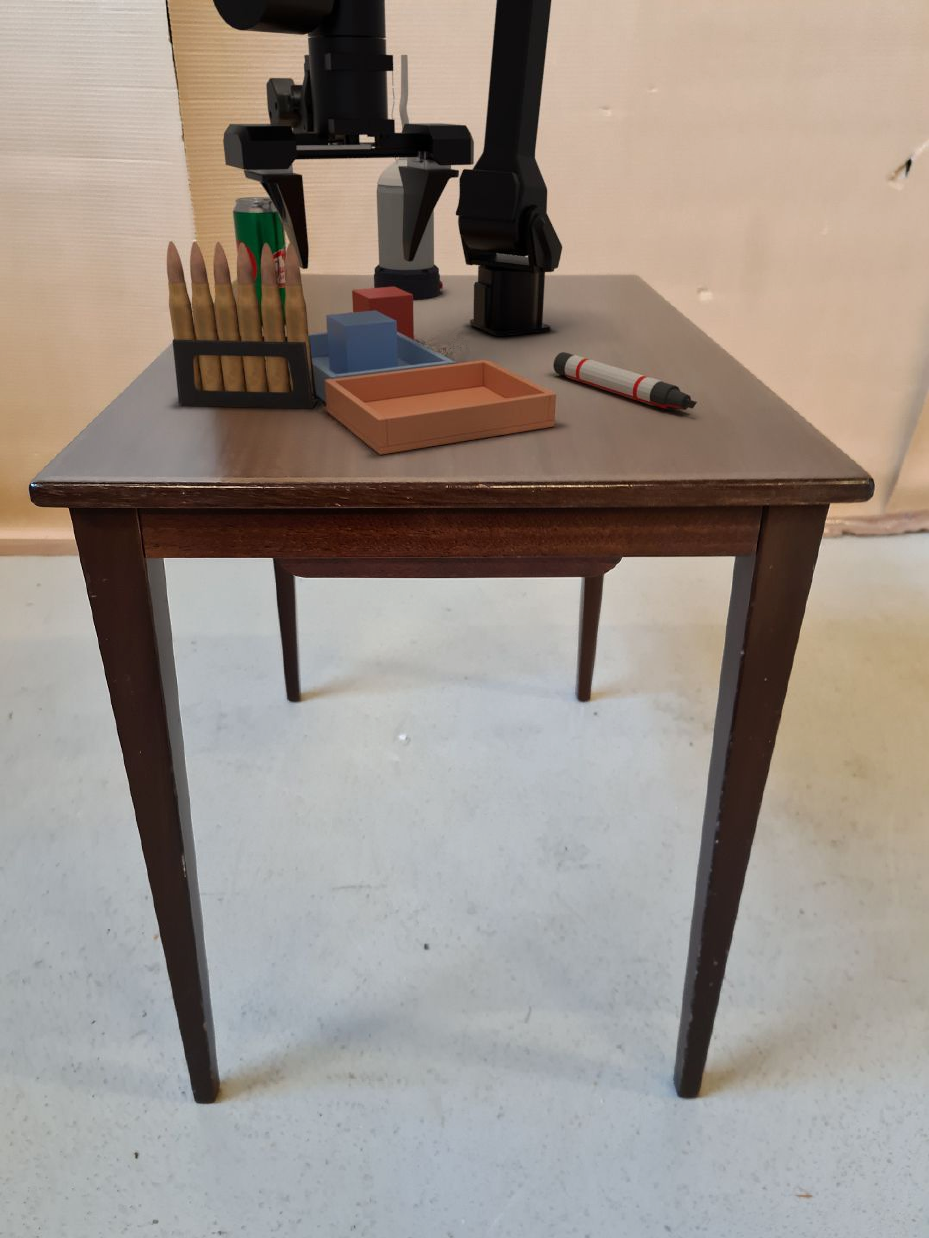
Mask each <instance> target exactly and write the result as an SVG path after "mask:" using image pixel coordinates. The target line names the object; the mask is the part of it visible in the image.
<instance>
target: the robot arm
mask: <svg viewBox="0 0 929 1238" xmlns="http://www.w3.org/2000/svg"><path fill="white" fill-rule="evenodd" d="M212 2H213V6H214V7H215V10H216V11H217V13H218V15H219V17H220V18H222V20H223V21H224V22H225V23H226V24H227V25H228V26H230V27H231V28H232V29H234V30H238V31H242V32H243V31H244V32H256V33H268V34H269V33H271V34H282V35H286V34H287V35H297V36H298V35H300V36H306V35H307V44H308V45H307V47H308V54H304V55H303V56H304V62H303V71H304V72H303V75H304V76H303V79H302V80H303V81H302V84H295V82H294V79H293V78H292V77H291V78H290V77H269V79H268V80H267V83H266V84H265V85H266V86H265V87H266V103H267V112H268V117H269V123H229V124H228V126H227V127H226V129H225V131H224V132H223V138H222V139H223V140H222V143H223V153H224V163H225V166H229V167H233V168H236V169H240V170H243V174H244V177H245V179H248V180H251V181H254V182H255V181H256V182H259V184H260V185H261V186H262V188H263V190H264V191H265V192H266V194H267V196H268V197H270V199H271V201H272V203H273V205H274V206H275V208H276V210H277V212H278V214H279V217H280V219H281V222H282V224H283V227H284V229H285V235H286V236H287V239H288V242H289V243H291V244H292V245H293V247H294V249H295V252H296V255H297V258H298V262H299V267H300V269H302V270H308V269H309V253H310V251H309V250H310V248H309V247H310V246H309V238H308V227H307V216H306V215H307V214H306V201H305V191H304V180H303V174H301V173H300V174H299V173H297V172H294V168H293V166H294V165H293V163H294V162H295V161H296V160H342V159H345V160H346V159H349V160H350V159H392V158H393V159H395V158H396V159H398V158H403V157H407V166H398V169H399V173H400V177H401V181H402V184H403V190H404V197H403V253H404V259H405V260H406V261H408V262H411V261H413V260H414V257H415V255H416V252H417V250H418V247H419V245H420V242H421V239H422V237H423V234H424V232H425V229H426V227H427V224H428V222H429V219H430V217H431V214H432V212H433V210H434V211H435V208H436V206H437V203H438V202H439V200H440V198H441V196H442V194H443V192H444V191H445V188H446V187H447V185H448V184H449V183H448V182H449V180H451V179H455V178H459V179H458V181H459V186H458V187H459V193H458V194H459V195H458V203H457V207H456V211H455V216H457V225H458V231H459V232H458V233H459V236H460V241H461V247H462V251H463V257H464V261H465V264H466V265H465V266H477V281H475V282H474V284H473V318H472V319H469V325H471V326H473V327H476V328H478V329H480V330H482V331H485V332H487V333H489V334H492V335H493V336H496V337H505V336H506V337H507V336H514V335H523V334H531V333H532V334H533V333H542V332H549V331H551V325H550V324H547V323H545V322H544V321H543V320H544V305H545V304H544V301H545V285H546V284H545V283H546V281H545V280H546V273H553V272H555V270H556V269H558V268H559V266H560V261H561V258H562V257H561V256H562V251H563V245H562V243H561V240H560V238H559V237H558V236H559V235H558V234H557V232H556V230H555V227H554V225H553V223H552V220H551V219H550V217H549V214H548V211H547V210H548V187H547V185H546V182H545V180H544V177H543V175H542V172H541V170H540V167H539V164H538V162H537V159H536V147H537V140H538V130H539V121H540V111H541V103H542V101H541V100H542V92H543V83H544V74H545V66H546V65H545V64H546V54H547V45H548V37H549V36H548V35H549V27H550V26H549V25H550V20H551V19H550V18H551V9H552V8H551V7H552V0H496V3H495V14H494V15H495V16H494V25H493V36H492V48H491V59H490V70H489V71H490V72H489V82H488V83H489V84H488V93H487V94H488V95H487V106H486V118H485V129H484V130H485V131H484V139H483V140H484V142H483V149H482V153H481V154H480V156H479V158H478V159H477V161H476V163H475V162H474V160H475V142H474V137H473V135H472V133H471V131H470V129H469V128H468V126H467V124H453V123H443V122H442V123H437V122H436V123H434V122H433V123H431V122H430V123H429V122H428V123H427V122H426V123H425V122H424V123H419V122H418V123H409V124H404V127H403V130H402V129H401V132H396V121H395V118H393V119H392V118H389V98H388V97H389V96H388V72H392V71H393V72H394V54H387V39H386V38H387V34H386V33H387V32H386V26H387V25H386V0H212ZM360 136H366V137H367V138H374V141H360ZM474 163H475V164H474ZM473 165H474V166H473ZM452 166H473V168H471V169H470V168H463V169H462V170H461V173H460V170H459V169H454V168H452Z"/></svg>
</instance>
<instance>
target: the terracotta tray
mask: <svg viewBox="0 0 929 1238" xmlns="http://www.w3.org/2000/svg"><path fill="white" fill-rule="evenodd" d="M325 392H326V402H325V404H326V406H325V407H326V412H327V413H328V414H329V415H330V416H332V417H333V418H334V419H336V420H337V421H338V422H339V423H340V424H342V425H343V426H344V427H345V428H347V429H348V430H349V431H350V432H351V433H353V434H354V435H355V436H356V437H358V439H360V440H361V441H363V442H364V443H365V444H366V445H367V446H369V447H370V448H371V449H372V450H373V451H375V453H377V454H378V455H387V454H393V453H399V452H405V451H411V450H417V449H424V448H428V447H430V448H431V447H437V446H442V445H448V444H455V443H460V442H467V441H472V440H473V441H474V440H479V439H486V438H490V437H497V436H503V435H508V434H509V435H510V434H515V433H522V432H529V431H535V430H540V429H547V428H553V427H555V419H556V403H557V393H555V392H553V391H551V390H549V389H547V388H545V387H543V386H541V385H539V384H537V383H535V382H534V381H531V380H529V379H527V378H524V377H523V376H520V375H519V374H516V373H515V372H512V371H511V370H508V369H506V368H505V367H503V366H501V365H499V364H496V363H495V362H493V361H490V360H488V359H481V360H474V361H466V362H465V361H464V362H458V363H456V362H455V364H448V365H440V366H432V367H424V368H416V369H408V370H400V371H392V372H384V373H376V374H368V375H359V376H351V377H343V378H335V379H327V380H325Z"/></svg>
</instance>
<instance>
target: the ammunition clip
mask: <svg viewBox="0 0 929 1238" xmlns="http://www.w3.org/2000/svg"><path fill="white" fill-rule="evenodd" d="M286 250H287V251H286V258H285V293H286V297H285V318H286V322H285V323H284V314H283V304H282V301H281V297H280V293H279V285H278V280H277V271H276V266H275V261H274V258H273V255H272V252H271V249H270V247H269V245H268V244H267V243H265V244H264V246H263V250H262V256H261V281H262V284H261V287H262V300H261V312H262V322H263V325H261V316H260V306H259V302H258V298H257V295H256V289H255V283H254V277H253V270H252V265H251V261H250V257H249V254H248V251H247V249H246V247H245V245H244V243H242V242H241V243H240V245H239V249H238V255H237V254H236V255H237V256H236V278H237V301H236V297H235V294H234V290H233V283H232V278H231V271H230V266H229V263H228V258H227V256H226V255H227V254H226V253H225V249H224V247H223V245H222V244H221V242H219V241H217V242H216V243H215V247H214V251H213V265H212V266H213V279H214V280H213V281H214V283H213V284H214V300H213V297H212V294H211V287H210V283H209V280H208V272H207V267H206V263H205V259H204V256H203V253H202V251H201V249H200V246H199V244H198V243H197V242H196V241H193V242H192V244H191V248H190V254H189V255H190V256H189V267H190V268H189V270H190V272H189V273H190V281H191V283H190V284H191V285H190V286H191V292H192V293H191V299H190V296H189V292H188V287H187V282H186V277H185V273H184V272H185V271H184V268H183V263H182V260H181V256H180V254H179V251H178V248H177V247H176V245H175V243H174V241H172V240H170V241H169V242H168V245H167V251H166V274H167V280H168V282H167V284H168V285H167V286H168V295H169V296H168V308H169V313H170V322H171V328H172V336H173V339H172V347H173V348H172V349H173V360H174V369H175V380H176V388H177V389H176V390H177V396H178V397H177V399H178V404H179V405H180V406H182V407H183V406H184V407H185V406H186V407H222V408H223V407H224V408H225V407H231V408H268V409H269V408H271V409H272V408H274V409H313V408H314V407H315V405H316V403H317V401H318V398H317V397H318V396H317V395H316V388H315V380H314V372H313V364H312V356H311V348H310V340H309V335H308V334H309V323H308V313H307V311H308V310H307V305H306V304H307V303H306V300H305V296H304V290H303V289H304V288H303V284H302V273H301V268H300V266H299V262H298V258H297V255H296V252H295V249H294V247H293V245H292V244H291V243H290V242H289V243H288V245H287V246H286ZM286 336H287V337H286ZM288 362H289V367H290V374H289V367H288Z"/></svg>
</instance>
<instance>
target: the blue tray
mask: <svg viewBox="0 0 929 1238" xmlns="http://www.w3.org/2000/svg"><path fill="white" fill-rule="evenodd" d="M308 335H309V340H310V348H311V356H312V364H313V372H314V380H315V388H316V396H317V397H318V398H320V400H322V401H323V402H325V403H326V392H325V380H327V379H335V378H343V377H351V376H359V375H368V374H376V373H384V372H392V371H400V370H408V369H416V368H424V367H432V366H440V365H448V364H456V361H454V360H452V359H450V358H448V357H447V356H445V355H443V354H441V353H439V352H437V351H435V350H433V349H431V348H429V347H427V346H426V345H424V344H422V343H420V342H418V341H416V340H415V339H414V340H412V339H411V338H409V337H407V336H405V335H403V334H401V333H399V332H397V355H398V367H392V368H383V369H375V370H367V371H359V372H351V373H342V374H336V373H335V372H334V371H332V370H331V369H330V367H329V352H328V336H327V331H326V332H315V333H308ZM286 337H287V335H286ZM288 367H289V362H288ZM289 375H290V367H289Z"/></svg>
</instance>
